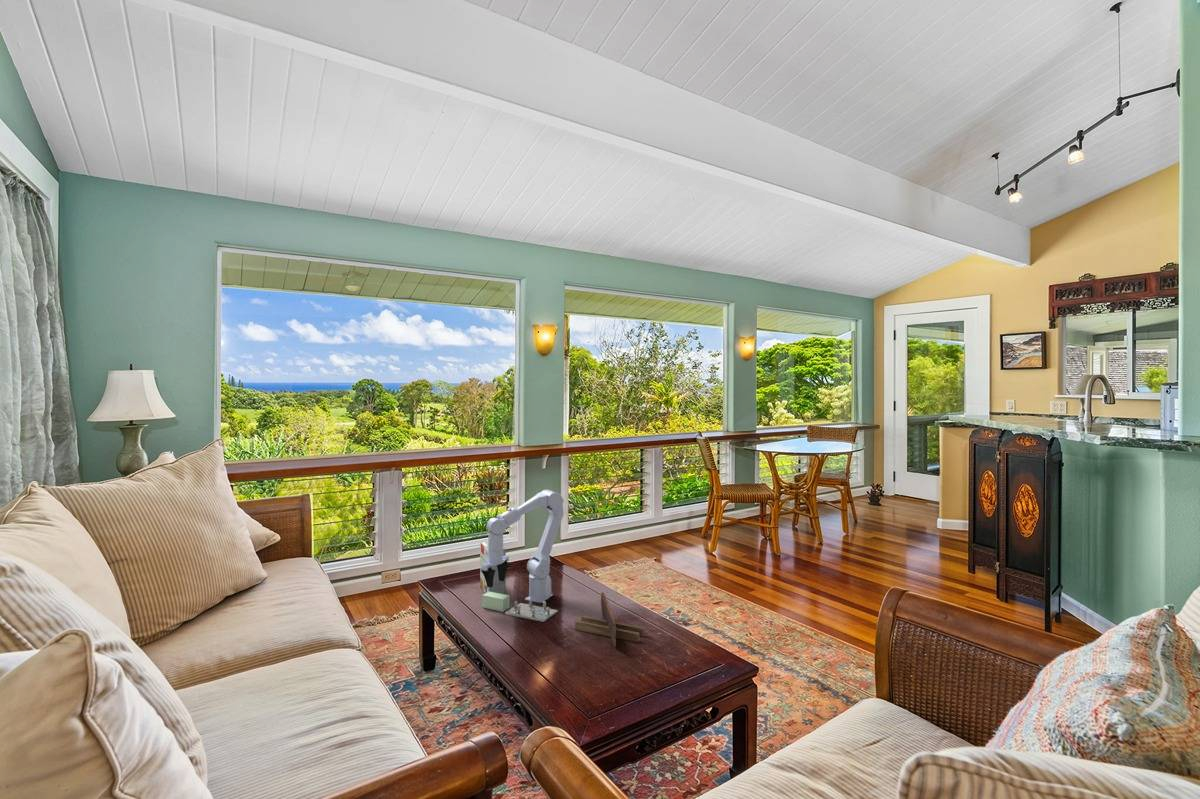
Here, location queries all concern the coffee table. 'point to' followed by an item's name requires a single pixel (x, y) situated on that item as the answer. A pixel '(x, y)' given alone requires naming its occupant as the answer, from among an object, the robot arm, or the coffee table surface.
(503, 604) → the pale green block
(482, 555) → the hard drive box
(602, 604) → the wooden tablet
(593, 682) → the coffee table surface
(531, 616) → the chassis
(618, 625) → the tablet cradle
